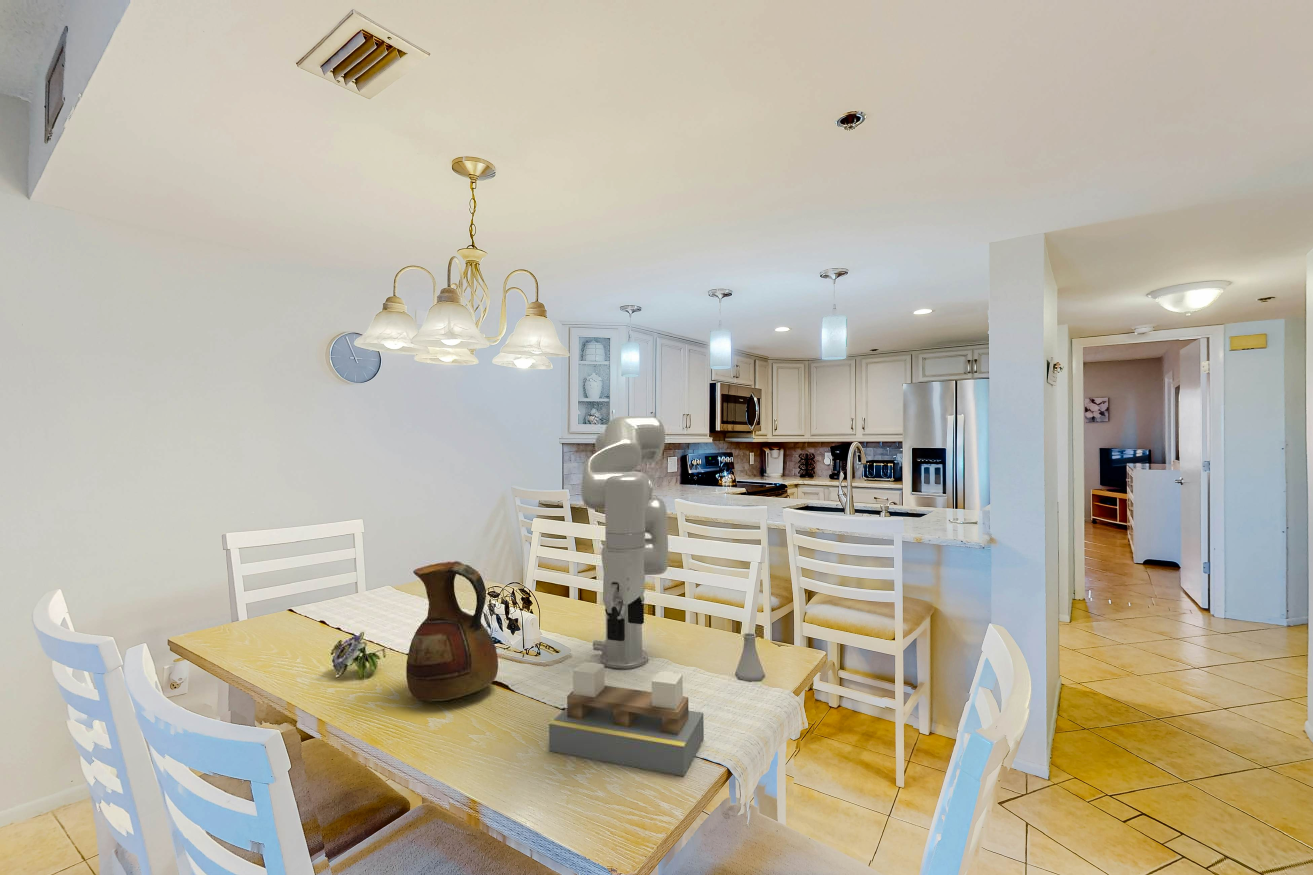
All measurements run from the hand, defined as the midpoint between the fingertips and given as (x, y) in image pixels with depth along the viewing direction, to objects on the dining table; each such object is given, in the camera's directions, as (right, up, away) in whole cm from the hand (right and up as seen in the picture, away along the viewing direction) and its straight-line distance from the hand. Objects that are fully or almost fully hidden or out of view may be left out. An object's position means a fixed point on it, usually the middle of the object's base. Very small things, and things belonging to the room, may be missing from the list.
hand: (626, 631), depth 109 cm
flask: (+28, -22, +31) cm, 47 cm away
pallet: (0, -16, 0) cm, 16 cm away
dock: (0, -21, -1) cm, 21 cm away
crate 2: (+8, -12, -3) cm, 15 cm away
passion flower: (-70, -23, +36) cm, 82 cm away
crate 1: (-7, -12, +2) cm, 15 cm away
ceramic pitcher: (-41, -22, +24) cm, 52 cm away
